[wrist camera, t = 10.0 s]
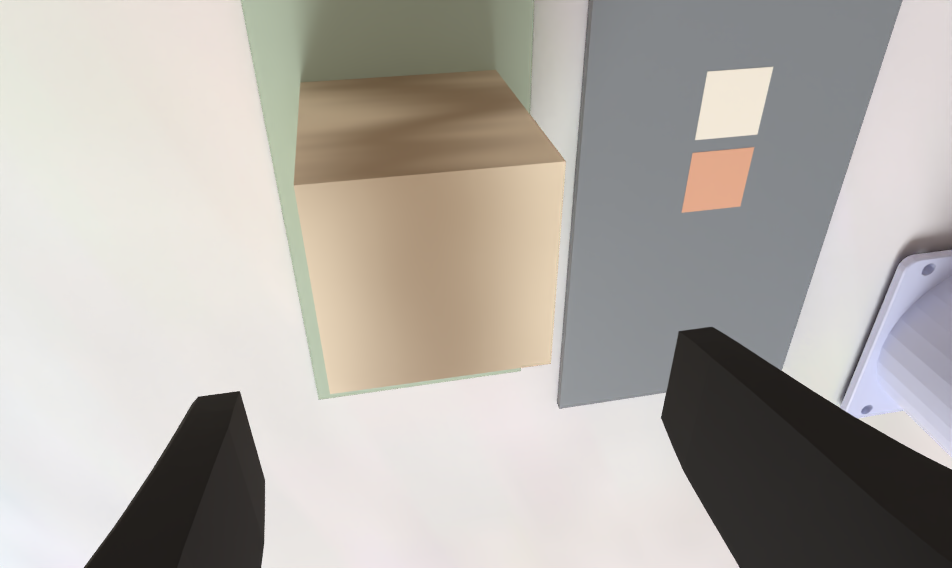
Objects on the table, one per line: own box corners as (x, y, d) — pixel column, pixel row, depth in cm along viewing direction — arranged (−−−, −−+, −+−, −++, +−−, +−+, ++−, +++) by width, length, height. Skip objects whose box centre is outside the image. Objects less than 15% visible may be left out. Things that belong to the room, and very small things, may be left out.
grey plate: (988, -294, 15) (999, -296, 15) (775, 370, 26) (780, 375, 26) (613, -301, 14) (618, -304, 14) (557, 403, 25) (559, 408, 25)
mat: (539, -183, 15) (540, -183, 15) (519, 368, 24) (520, 371, 24) (206, -180, 14) (206, -180, 13) (318, 396, 23) (318, 399, 22)
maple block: (495, 69, 17) (565, 161, 13) (494, 236, 20) (550, 363, 15) (300, 82, 17) (293, 185, 12) (326, 253, 19) (330, 394, 15)
